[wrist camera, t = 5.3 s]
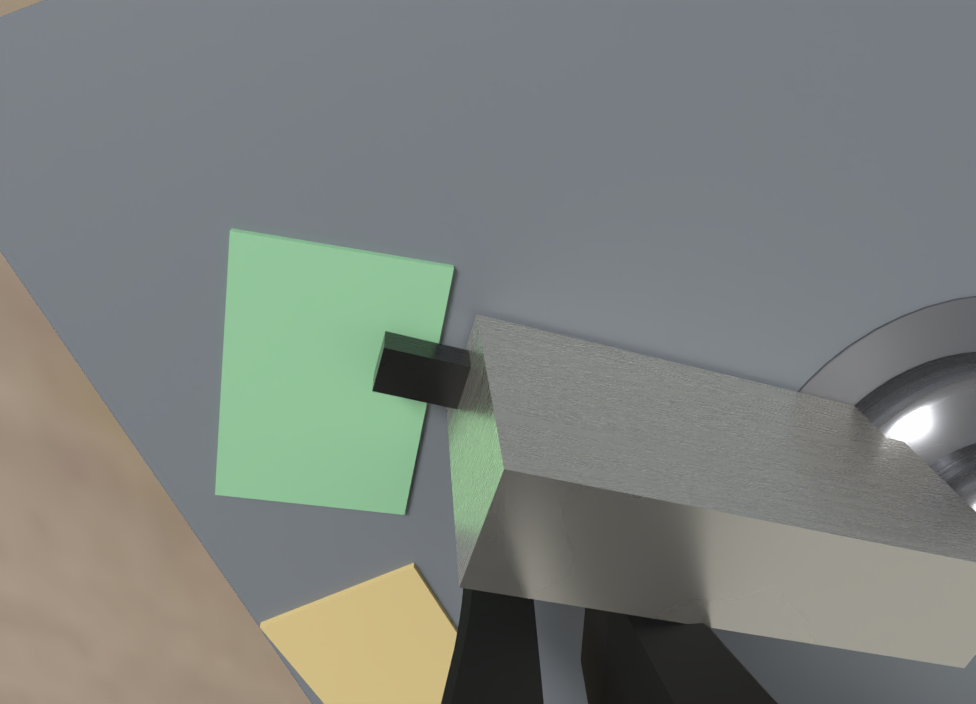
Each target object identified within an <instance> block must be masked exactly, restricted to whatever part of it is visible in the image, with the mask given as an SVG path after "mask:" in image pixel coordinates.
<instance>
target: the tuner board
mask: <svg viewBox="0 0 976 704" xmlns="http://www.w3.org/2000/svg"><path fill="white" fill-rule="evenodd" d="M0 252H1V253H2V255H3V256H4V257H5V259H6V260H7V262H8V263H9V265H10V266H11V268H12V269H13V271H14V272H15V273H16V275H17V276H18V278H19V279H20V281H21V282H22V284H23V285H24V286H25V288H26V289H27V291H28V292H29V294H30V295H31V297H32V298H33V300H34V301H35V302H36V304H37V305H38V307H39V308H40V310H41V311H42V313H43V314H44V316H45V317H46V318H47V320H48V321H49V323H50V324H51V326H52V327H53V329H54V330H55V331H56V333H57V334H58V336H59V337H60V339H61V340H62V342H63V343H64V345H65V346H66V347H67V349H68V350H69V352H70V353H71V355H72V356H73V358H74V359H75V361H76V362H77V363H78V365H79V366H80V368H81V369H82V371H83V372H84V374H85V375H86V376H87V378H88V379H89V381H90V382H91V384H92V385H93V387H94V388H95V390H96V391H97V392H98V394H99V395H100V397H101V398H102V400H103V401H104V403H105V404H106V406H107V407H108V408H109V410H110V411H111V413H112V414H113V416H114V417H115V419H116V420H117V421H118V423H119V424H120V426H121V427H122V429H123V430H124V432H125V433H126V435H127V436H128V437H129V439H130V440H131V442H132V443H133V445H134V446H135V448H136V449H137V451H138V452H139V453H140V455H141V456H142V458H143V459H144V461H145V462H146V464H147V465H148V466H149V468H150V469H151V471H152V472H153V474H154V475H155V477H156V478H157V480H158V481H159V482H160V484H161V485H162V487H163V488H164V490H165V491H166V493H167V494H168V496H169V497H170V498H171V500H172V501H173V503H174V504H175V506H176V507H177V509H178V510H179V511H180V513H181V514H182V516H183V517H184V519H185V520H186V522H187V523H188V525H189V526H190V527H191V529H192V530H193V532H194V533H195V535H196V536H197V538H198V539H199V540H200V542H201V543H202V545H203V546H204V548H205V549H206V551H207V552H208V554H209V555H210V556H211V558H212V559H213V561H214V562H215V564H216V565H217V567H218V568H219V570H220V571H221V572H222V574H223V575H224V577H225V578H226V580H227V581H228V583H229V584H230V585H231V587H232V588H233V590H234V591H235V593H236V594H237V596H238V597H239V599H240V600H241V601H242V603H243V604H244V606H245V607H246V609H247V610H248V612H249V613H250V615H251V616H252V617H253V619H254V620H255V622H256V623H257V625H258V626H259V628H260V629H261V630H262V632H263V633H264V635H265V636H266V638H267V639H268V641H269V642H270V644H271V645H272V646H273V648H274V649H275V651H276V652H277V654H278V655H279V657H280V658H281V660H282V661H283V662H284V664H285V665H286V667H287V668H288V670H289V671H290V673H291V674H292V675H293V677H294V678H295V680H296V681H297V683H298V684H299V686H300V687H301V689H302V690H303V691H304V693H305V694H306V696H307V697H308V699H309V700H310V702H311V703H312V704H441V701H442V697H443V693H444V689H445V685H446V680H447V676H448V672H449V668H450V664H451V660H452V655H453V651H454V647H455V641H456V636H457V630H458V624H459V619H460V612H461V605H462V595H463V588H460V587H459V578H458V564H457V550H456V536H455V522H454V508H453V494H452V480H451V466H450V452H449V438H448V424H447V411H446V407H444V406H439V405H435V404H430V403H425V402H420V401H416V400H411V399H406V398H402V397H397V396H392V395H388V394H383V393H378V392H373V391H372V388H373V378H374V371H375V368H376V364H377V360H378V356H379V353H380V349H381V345H382V342H383V338H384V334H385V331H387V332H391V333H396V334H400V335H404V336H409V337H413V338H417V339H422V340H426V341H430V342H435V343H439V344H443V345H448V346H452V347H456V348H461V349H465V348H466V345H467V342H468V339H469V336H470V333H471V330H472V326H473V323H474V320H475V317H476V314H478V315H482V316H486V317H491V318H495V319H499V320H503V321H507V322H511V323H515V324H519V325H524V326H528V327H532V328H536V329H540V330H544V331H548V332H553V333H557V334H561V335H565V336H569V337H573V338H577V339H581V340H586V341H590V342H594V343H598V344H602V345H606V346H610V347H614V348H619V349H623V350H627V351H631V352H635V353H639V354H643V355H647V356H652V357H656V358H660V359H664V360H668V361H672V362H676V363H680V364H685V365H689V366H693V367H697V368H701V369H705V370H709V371H713V372H718V373H722V374H726V375H730V376H734V377H738V378H742V379H747V380H751V381H755V382H759V383H763V384H767V385H771V386H775V387H780V388H784V389H788V390H792V391H796V392H800V393H804V394H808V395H813V396H817V397H821V398H825V399H829V400H833V401H837V402H841V403H846V404H850V405H854V406H855V405H856V404H857V403H858V402H859V401H860V400H861V399H863V398H864V397H865V396H867V395H868V394H869V393H870V392H872V391H873V390H874V389H876V388H877V387H879V386H880V385H882V384H883V383H885V382H886V381H888V380H890V379H891V378H893V377H895V376H897V375H899V374H901V373H903V372H905V371H906V370H908V369H911V368H913V367H916V366H918V365H921V364H923V363H925V362H928V361H931V360H935V359H938V358H942V357H945V356H949V355H955V354H960V353H966V352H976V0H43V1H41V2H38V3H36V4H33V5H30V6H28V7H25V8H22V9H20V10H17V11H15V12H12V13H9V14H7V15H4V16H2V17H0ZM534 607H535V617H536V628H537V638H538V648H539V659H540V669H541V680H542V690H543V701H544V704H588V700H587V694H586V689H585V683H584V677H583V672H582V666H581V649H582V637H583V626H584V615H585V607H578V606H572V605H566V604H560V603H553V602H547V601H541V600H535V599H534ZM710 629H711V630H712V631H713V632H714V633H715V634H716V636H717V637H718V638H719V639H720V640H721V641H722V643H723V644H724V645H725V646H726V647H727V648H728V649H729V651H730V652H731V653H732V654H733V655H734V656H735V657H736V658H737V659H738V660H739V662H740V663H741V664H742V665H743V666H744V667H745V668H746V669H747V670H748V671H749V673H750V674H751V675H752V676H753V677H754V678H755V679H756V680H757V681H758V683H759V684H760V685H761V686H762V687H763V688H764V689H765V690H766V691H767V692H768V694H769V695H770V696H771V697H772V698H773V699H774V700H775V701H776V702H777V703H778V704H976V655H975V656H974V657H973V658H972V660H971V661H970V662H969V663H968V665H967V666H966V667H965V668H959V667H953V666H947V665H941V664H934V663H928V662H922V661H916V660H909V659H903V658H897V657H891V656H884V655H878V654H872V653H866V652H859V651H853V650H847V649H841V648H834V647H828V646H822V645H816V644H809V643H803V642H797V641H791V640H785V639H778V638H772V637H766V636H760V635H753V634H747V633H741V632H735V631H728V630H722V629H716V628H710Z"/></svg>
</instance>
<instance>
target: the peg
mask: <svg viewBox="0 0 976 704" xmlns="http://www.w3.org/2000/svg"><path fill="white" fill-rule="evenodd" d="M372 391H373V392H378V393H383V394H388V395H392V396H397V397H402V398H406V399H411V400H416V401H420V402H425V403H430V404H435V405H439V406H444V407H446V411H447V424H448V438H449V452H450V466H451V480H452V494H453V508H454V522H455V536H456V550H457V564H458V578H459V587H460V588H466V589H472V590H479V591H485V592H491V593H497V594H504V595H510V596H516V597H522V598H529V599H535V600H541V601H547V602H553V603H560V604H566V605H572V606H578V607H585V608H591V609H597V610H603V611H610V612H616V613H622V614H628V615H635V616H641V617H647V618H653V619H660V620H666V621H672V622H678V623H685V624H694V623H704V624H705V625H706V626H707V627H710V628H716V629H722V630H728V631H735V632H741V633H747V634H753V635H760V636H766V637H772V638H778V639H785V640H791V641H797V642H803V643H809V644H816V645H822V646H828V647H834V648H841V649H847V650H853V651H859V652H866V653H872V654H878V655H884V656H891V657H897V658H903V659H909V660H916V661H922V662H928V663H934V664H941V665H947V666H953V667H959V668H965V667H966V666H967V665H968V663H969V662H970V661H971V660H972V658H973V657H974V656H975V655H976V352H966V353H960V354H955V355H949V356H945V357H942V358H938V359H935V360H931V361H928V362H925V363H923V364H921V365H918V366H916V367H913V368H911V369H908V370H906V371H905V372H903V373H901V374H899V375H897V376H895V377H893V378H891V379H890V380H888V381H886V382H885V383H883V384H882V385H880V386H879V387H877V388H876V389H874V390H873V391H872V392H870V393H869V394H868V395H867V396H865V397H864V398H863V399H861V400H860V401H859V402H858V403H857V404H856V405H855V406H854V405H850V404H846V403H841V402H837V401H833V400H829V399H825V398H821V397H817V396H813V395H808V394H804V393H800V392H796V391H792V390H788V389H784V388H780V387H775V386H771V385H767V384H763V383H759V382H755V381H751V380H747V379H742V378H738V377H734V376H730V375H726V374H722V373H718V372H713V371H709V370H705V369H701V368H697V367H693V366H689V365H685V364H680V363H676V362H672V361H668V360H664V359H660V358H656V357H652V356H647V355H643V354H639V353H635V352H631V351H627V350H623V349H619V348H614V347H610V346H606V345H602V344H598V343H594V342H590V341H586V340H581V339H577V338H573V337H569V336H565V335H561V334H557V333H553V332H548V331H544V330H540V329H536V328H532V327H528V326H524V325H519V324H515V323H511V322H507V321H503V320H499V319H495V318H491V317H486V316H482V315H478V314H476V317H475V320H474V323H473V326H472V330H471V333H470V336H469V339H468V342H467V345H466V348H465V349H461V348H456V347H452V346H448V345H443V344H439V343H435V342H430V341H426V340H422V339H417V338H413V337H409V336H404V335H400V334H396V333H391V332H387V331H385V334H384V338H383V342H382V345H381V349H380V353H379V356H378V360H377V364H376V368H375V371H374V378H373V388H372Z"/></svg>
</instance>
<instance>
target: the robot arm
mask: <svg viewBox="0 0 976 704" xmlns="http://www.w3.org/2000/svg"><path fill="white" fill-rule="evenodd" d="M581 666H582V672H583V677H584V683H585V689H586V694H587V700H588V704H778V703H777V702H776V701H775V700H774V699H773V698H772V697H771V696H770V695H769V694H768V692H767V691H766V690H765V689H764V688H763V687H762V686H761V685H760V684H759V683H758V681H757V680H756V679H755V678H754V677H753V676H752V675H751V674H750V673H749V671H748V670H747V669H746V668H745V667H744V666H743V665H742V664H741V663H740V662H739V660H738V659H737V658H736V657H735V656H734V655H733V654H732V653H731V652H730V651H729V649H728V648H727V647H726V646H725V645H724V644H723V643H722V641H721V640H720V639H719V638H718V637H717V636H716V634H715V633H714V632H713V631H712V630H711V629H710V627H707V626H706V625H705V624H704V623H694V624H685V623H678V622H672V621H666V620H660V619H653V618H647V617H641V616H635V615H628V614H622V613H616V612H610V611H603V610H597V609H591V608H585V615H584V626H583V637H582V649H581ZM441 704H544V701H543V690H542V680H541V669H540V659H539V648H538V638H537V628H536V617H535V607H534V599H529V598H522V597H516V596H510V595H504V594H497V593H491V592H485V591H479V590H472V589H466V588H463V595H462V605H461V612H460V619H459V624H458V630H457V636H456V641H455V647H454V651H453V655H452V660H451V664H450V668H449V672H448V676H447V680H446V685H445V689H444V693H443V697H442V701H441Z"/></svg>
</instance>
